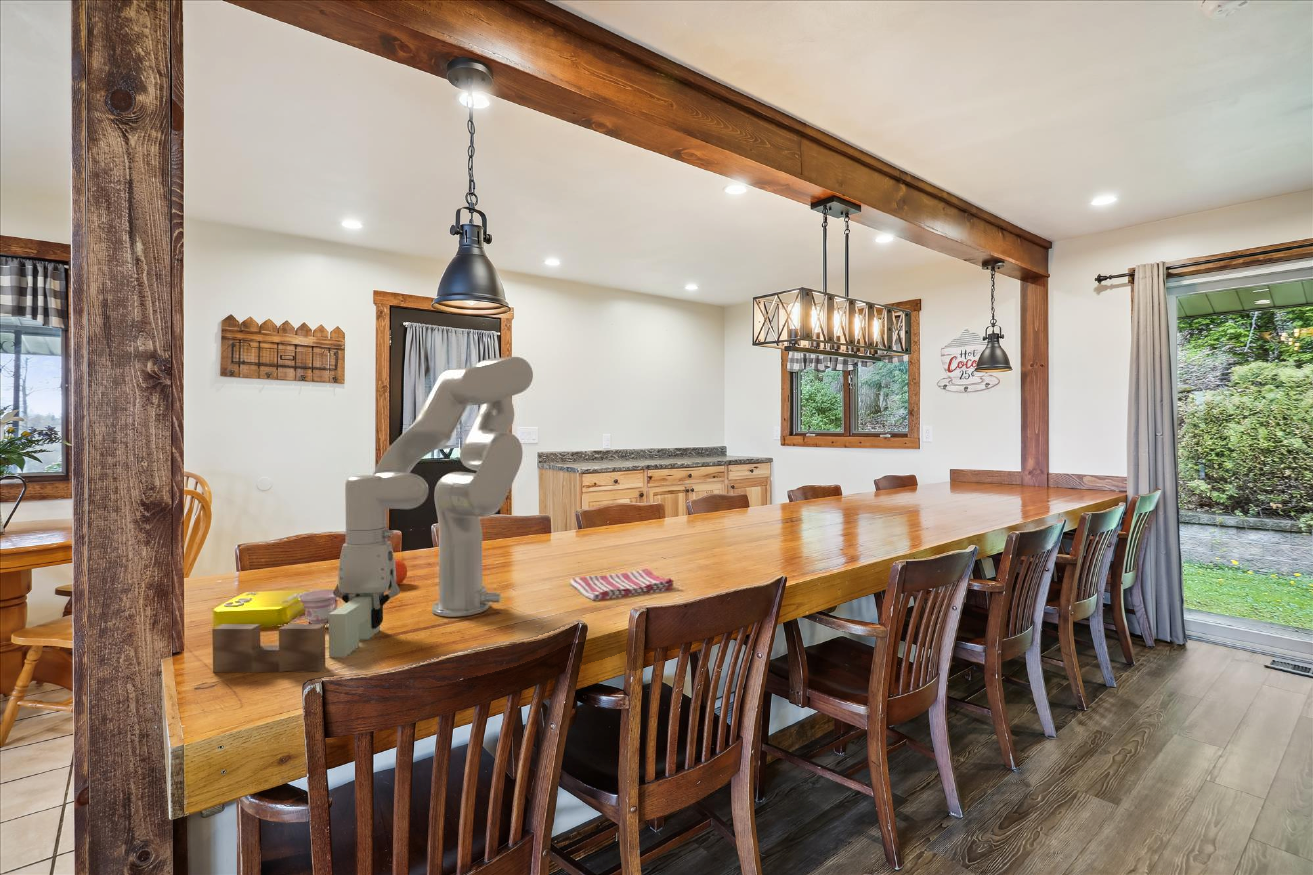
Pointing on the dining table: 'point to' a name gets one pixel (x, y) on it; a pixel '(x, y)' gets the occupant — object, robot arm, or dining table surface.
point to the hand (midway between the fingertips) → (367, 625)
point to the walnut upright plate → (268, 648)
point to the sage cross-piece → (350, 625)
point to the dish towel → (621, 584)
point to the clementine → (400, 571)
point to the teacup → (317, 606)
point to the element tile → (260, 608)
